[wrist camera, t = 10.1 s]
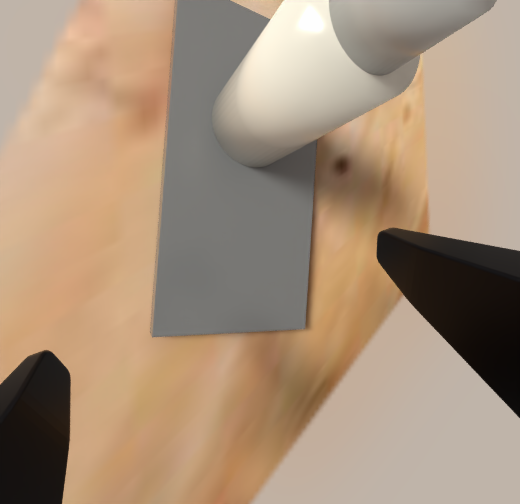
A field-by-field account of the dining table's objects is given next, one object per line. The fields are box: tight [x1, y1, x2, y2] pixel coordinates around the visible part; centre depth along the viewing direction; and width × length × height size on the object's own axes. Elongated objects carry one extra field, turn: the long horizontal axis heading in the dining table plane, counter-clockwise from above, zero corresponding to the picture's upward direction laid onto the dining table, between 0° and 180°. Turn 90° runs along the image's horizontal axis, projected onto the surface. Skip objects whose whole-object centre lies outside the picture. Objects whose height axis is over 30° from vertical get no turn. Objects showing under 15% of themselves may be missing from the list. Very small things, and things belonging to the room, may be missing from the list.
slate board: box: [150, 0, 317, 337], centre depth 19 cm, size 20×10×1 cm, turn 176°
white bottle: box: [212, 0, 497, 167], centre depth 13 cm, size 5×5×12 cm
